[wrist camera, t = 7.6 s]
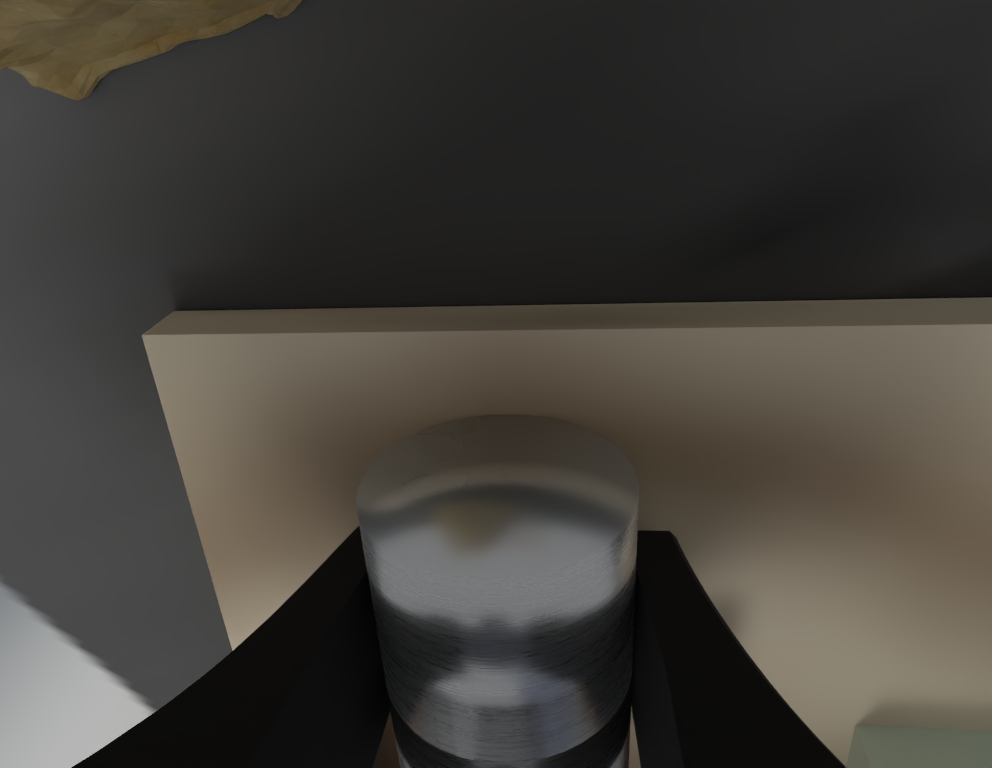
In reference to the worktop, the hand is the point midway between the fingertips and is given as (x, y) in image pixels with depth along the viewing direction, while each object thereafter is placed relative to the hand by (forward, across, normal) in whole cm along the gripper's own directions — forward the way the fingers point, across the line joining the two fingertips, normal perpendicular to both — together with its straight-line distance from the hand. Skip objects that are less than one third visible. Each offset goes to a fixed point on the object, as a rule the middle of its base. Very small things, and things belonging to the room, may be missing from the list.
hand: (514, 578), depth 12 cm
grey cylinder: (+1, 0, +1) cm, 1 cm away
